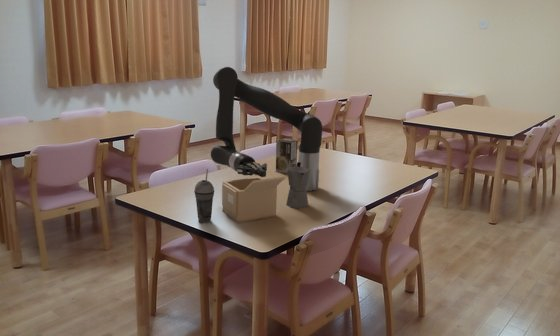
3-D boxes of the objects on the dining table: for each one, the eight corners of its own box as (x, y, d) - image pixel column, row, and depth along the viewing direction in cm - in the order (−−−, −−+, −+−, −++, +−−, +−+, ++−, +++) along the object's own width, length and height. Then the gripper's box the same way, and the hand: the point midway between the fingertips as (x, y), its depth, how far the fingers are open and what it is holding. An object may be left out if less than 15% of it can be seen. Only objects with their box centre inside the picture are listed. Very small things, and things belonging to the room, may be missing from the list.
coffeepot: (312, 209, 202) (315, 166, 198) (290, 210, 200) (291, 166, 195) (302, 197, 217) (304, 156, 212) (281, 198, 215) (282, 157, 210)
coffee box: (296, 171, 257) (298, 140, 253) (290, 174, 252) (291, 142, 247) (281, 168, 262) (282, 138, 257) (275, 171, 256) (275, 140, 252)
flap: (243, 190, 182) (253, 180, 175) (274, 185, 189) (285, 176, 182) (244, 191, 182) (253, 182, 175) (275, 187, 189) (285, 178, 181)
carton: (219, 210, 197) (219, 181, 194) (259, 204, 206) (260, 176, 203) (236, 223, 185) (236, 192, 182) (278, 215, 194) (278, 185, 191)
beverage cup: (195, 217, 190) (194, 166, 184) (214, 217, 190) (214, 166, 185) (193, 224, 182) (193, 171, 177) (214, 224, 183) (213, 171, 178)
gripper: (226, 155, 192) (248, 166, 178) (256, 152, 199) (280, 162, 185) (226, 174, 194) (247, 186, 180) (256, 170, 201) (279, 182, 186)
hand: (264, 174), depth 182 cm, fingers closed
